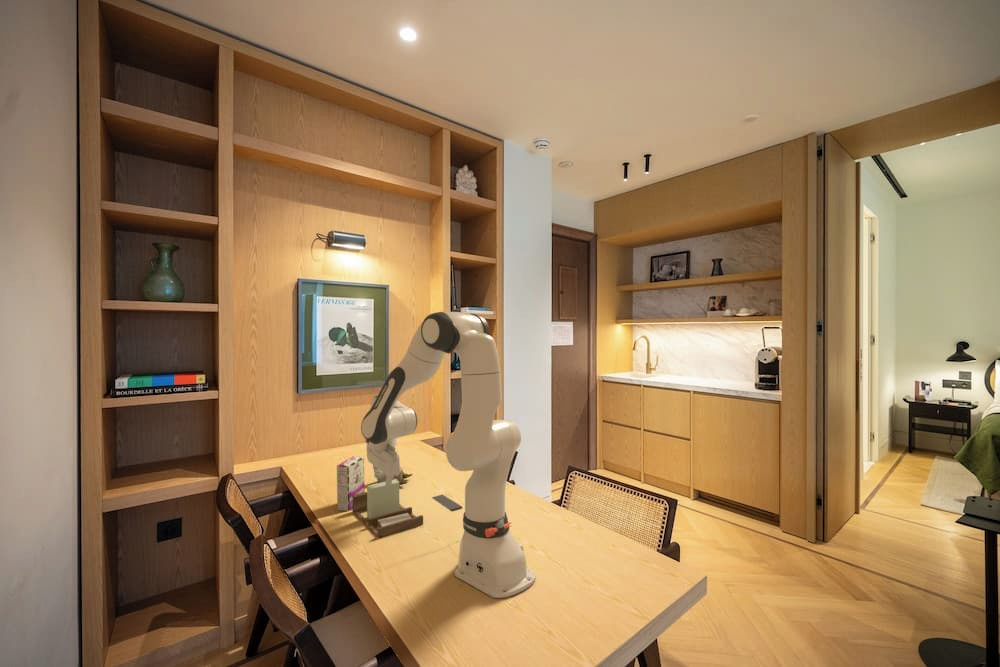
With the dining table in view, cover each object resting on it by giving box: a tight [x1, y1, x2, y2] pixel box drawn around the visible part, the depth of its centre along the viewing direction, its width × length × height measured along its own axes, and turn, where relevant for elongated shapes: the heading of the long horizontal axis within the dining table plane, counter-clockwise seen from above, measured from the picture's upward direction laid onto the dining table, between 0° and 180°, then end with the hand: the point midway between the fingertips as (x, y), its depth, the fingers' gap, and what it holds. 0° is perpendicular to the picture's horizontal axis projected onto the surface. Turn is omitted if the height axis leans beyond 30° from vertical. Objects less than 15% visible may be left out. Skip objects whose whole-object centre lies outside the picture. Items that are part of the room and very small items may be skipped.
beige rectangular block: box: [366, 479, 400, 519], centre depth 146 cm, size 4×10×12 cm, turn 128°
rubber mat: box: [431, 494, 463, 512], centre depth 156 cm, size 14×16×1 cm
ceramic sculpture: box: [376, 466, 413, 486], centre depth 179 cm, size 11×9×15 cm
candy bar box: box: [336, 455, 366, 512], centre depth 157 cm, size 11×5×16 cm, turn 168°
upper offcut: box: [377, 513, 412, 528], centre depth 138 cm, size 6×10×2 cm, turn 122°
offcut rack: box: [352, 491, 424, 539], centre depth 144 cm, size 24×15×7 cm, turn 38°
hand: (382, 481), depth 146 cm, fingers open, 8 cm apart
